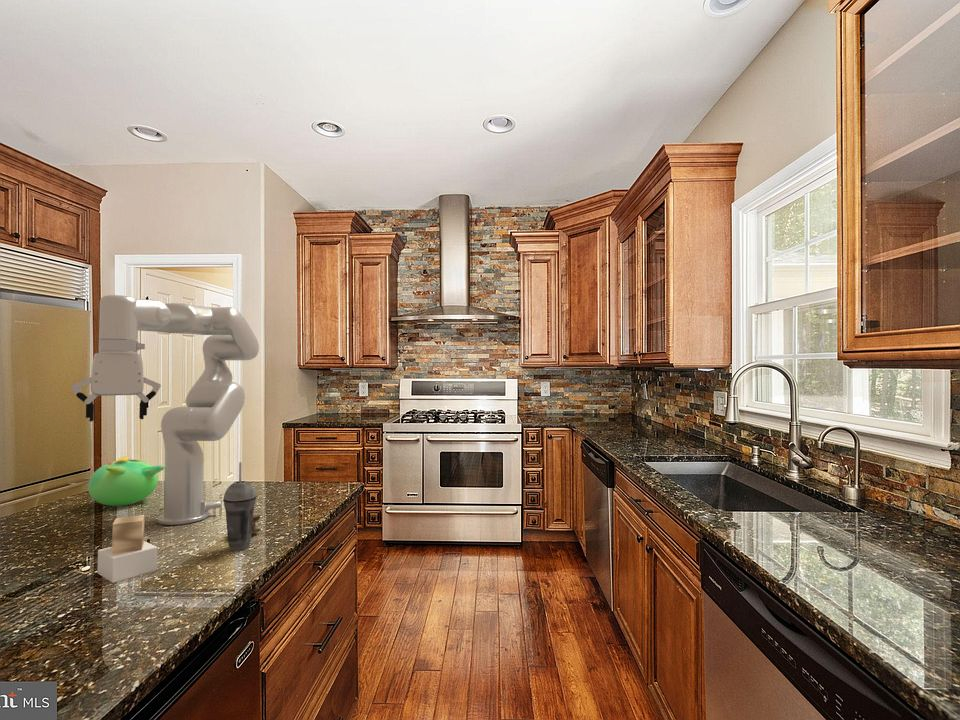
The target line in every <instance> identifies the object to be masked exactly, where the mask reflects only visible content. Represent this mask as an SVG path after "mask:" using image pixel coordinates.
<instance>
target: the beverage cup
mask: <svg viewBox="0 0 960 720" xmlns="http://www.w3.org/2000/svg"><path fill="white" fill-rule="evenodd" d="M242 463H243V462H241V461H239V463H238V481H235V482H233V483H232V484H230V485H228V487H227V488H226V490H225V492H224V495H223V500H222V501H223V506H224V509H225V520H226V521H225V522H226V533H227V543H228V549H229V550H230V551H242V550H246V549H248V548H250V546H251V540H252V535H251V532H252V522H253V513H255V511H254V509H255V506H256V502H257V501H256V500H257V498H258V497H257V493H256V489H255V487H254V485H252V484H251V483H249V482H248V481H244V480H242V469H243V468H242V467H243V466H242Z"/></svg>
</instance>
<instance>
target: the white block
mask: <svg viewBox="0 0 960 720" xmlns="http://www.w3.org/2000/svg"><path fill="white" fill-rule="evenodd" d="M158 549H159V548H158V546H156V545H154V544H151V543H149V542H147V541H145V540H144V544H143V547H142V550H137V551H130V552H123V553H116V554H112V546H110V547H105V548H102V549H101V548H100V549H97V574H98V575H100V576H101V577H102V578H103V579H105V580H108V581H109V582H111V583H116V582H120V581H125V580H127V579H130V578H133V577H138V576H140V575H145V574H149V573H152V572H154V571H158Z"/></svg>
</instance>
